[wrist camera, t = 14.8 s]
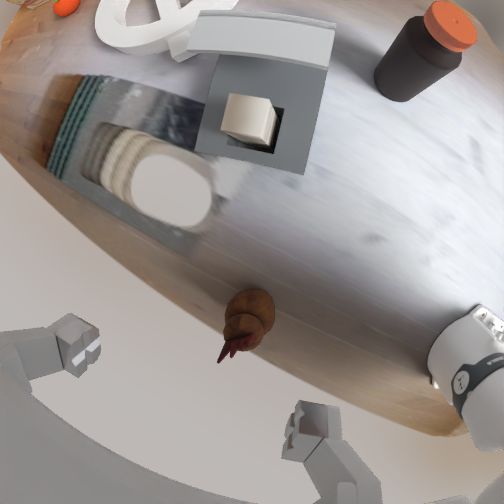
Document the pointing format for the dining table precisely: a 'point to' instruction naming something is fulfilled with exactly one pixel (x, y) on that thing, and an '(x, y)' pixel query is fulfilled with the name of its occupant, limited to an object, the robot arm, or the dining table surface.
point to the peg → (251, 120)
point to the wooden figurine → (247, 321)
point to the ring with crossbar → (153, 26)
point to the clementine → (65, 7)
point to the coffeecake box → (28, 3)
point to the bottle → (424, 51)
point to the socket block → (264, 78)
